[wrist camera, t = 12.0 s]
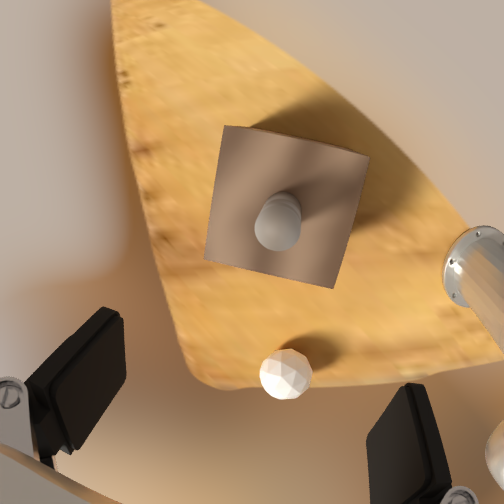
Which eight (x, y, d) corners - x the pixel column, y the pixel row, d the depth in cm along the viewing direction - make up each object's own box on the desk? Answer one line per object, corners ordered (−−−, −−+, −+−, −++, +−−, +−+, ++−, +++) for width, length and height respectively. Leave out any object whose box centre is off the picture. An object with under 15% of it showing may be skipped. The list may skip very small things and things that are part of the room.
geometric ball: (301, 347, 51) (330, 381, 45) (265, 378, 51) (290, 414, 45) (280, 330, 46) (311, 368, 40) (240, 365, 46) (266, 406, 40)
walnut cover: (349, 149, 36) (386, 164, 20) (325, 243, 41) (338, 322, 24) (248, 127, 37) (204, 124, 20) (232, 221, 42) (183, 286, 25)
